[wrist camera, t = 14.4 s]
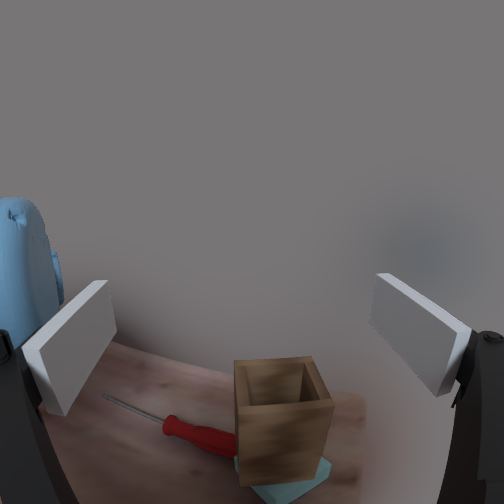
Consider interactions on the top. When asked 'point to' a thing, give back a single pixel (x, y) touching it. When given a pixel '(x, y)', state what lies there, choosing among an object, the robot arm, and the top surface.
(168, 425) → the screwdriver
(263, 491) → the post stand
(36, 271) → the robot arm
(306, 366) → the brown tall open box
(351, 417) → the top surface
